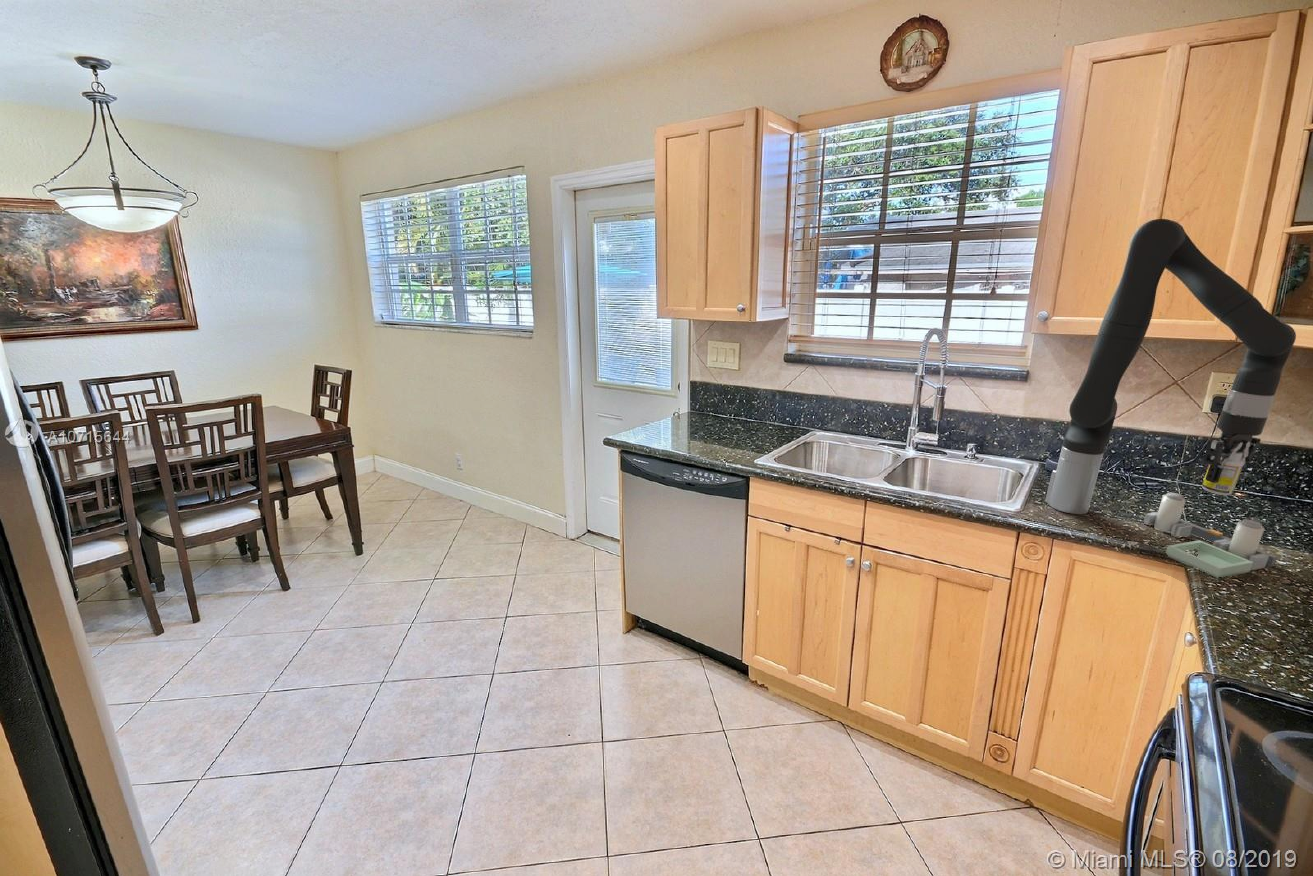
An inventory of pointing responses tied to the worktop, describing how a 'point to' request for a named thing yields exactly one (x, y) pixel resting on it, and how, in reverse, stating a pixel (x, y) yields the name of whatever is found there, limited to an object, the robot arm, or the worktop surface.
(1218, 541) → the fuse holder
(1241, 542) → the fuse
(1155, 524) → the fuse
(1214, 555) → the tray
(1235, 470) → the supplement bottle
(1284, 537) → the worktop surface
